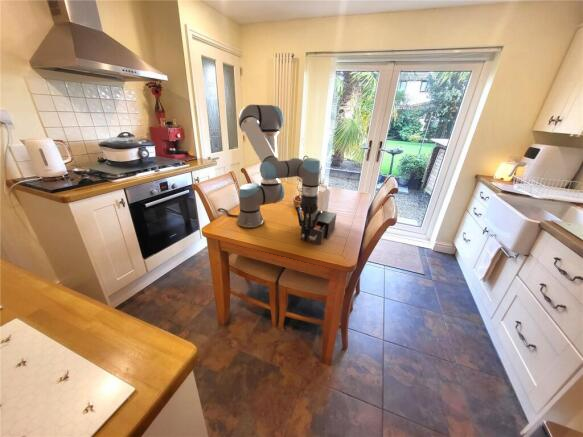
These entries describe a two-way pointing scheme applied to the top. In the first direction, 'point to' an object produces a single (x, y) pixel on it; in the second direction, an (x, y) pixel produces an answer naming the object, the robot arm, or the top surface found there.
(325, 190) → the milk
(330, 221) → the small drawer unit
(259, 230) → the top surface
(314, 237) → the grey drawer
